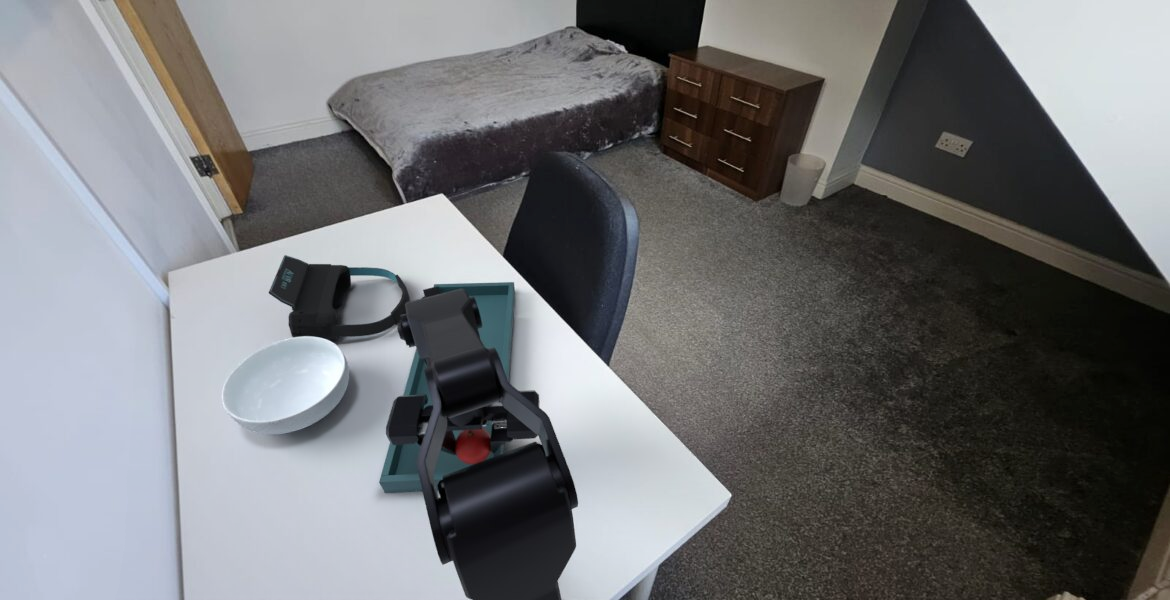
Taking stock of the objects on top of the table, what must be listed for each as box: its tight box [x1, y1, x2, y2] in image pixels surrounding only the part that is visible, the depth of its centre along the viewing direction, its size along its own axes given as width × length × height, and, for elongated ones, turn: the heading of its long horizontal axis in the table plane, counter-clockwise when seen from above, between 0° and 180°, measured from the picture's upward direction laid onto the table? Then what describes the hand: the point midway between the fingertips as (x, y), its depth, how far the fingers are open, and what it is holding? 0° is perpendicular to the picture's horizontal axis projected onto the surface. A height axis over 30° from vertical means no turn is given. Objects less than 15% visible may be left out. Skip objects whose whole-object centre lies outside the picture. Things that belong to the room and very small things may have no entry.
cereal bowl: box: [221, 336, 350, 435], centre depth 74 cm, size 17×17×7 cm
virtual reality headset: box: [268, 254, 410, 340], centre depth 90 cm, size 19×22×10 cm
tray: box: [378, 281, 516, 494], centre depth 80 cm, size 42×16×3 cm, turn 4°
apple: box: [455, 428, 491, 464], centre depth 65 cm, size 5×5×6 cm
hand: (475, 451), depth 66 cm, fingers closed on apple, 5 cm apart
